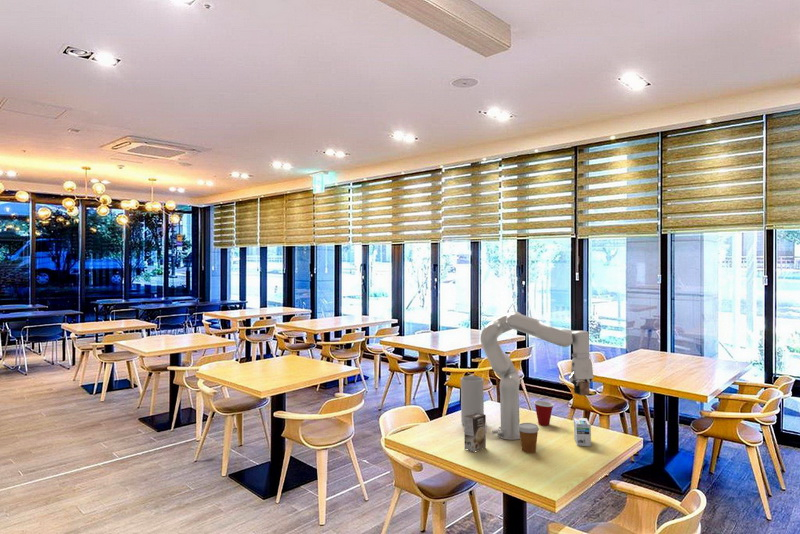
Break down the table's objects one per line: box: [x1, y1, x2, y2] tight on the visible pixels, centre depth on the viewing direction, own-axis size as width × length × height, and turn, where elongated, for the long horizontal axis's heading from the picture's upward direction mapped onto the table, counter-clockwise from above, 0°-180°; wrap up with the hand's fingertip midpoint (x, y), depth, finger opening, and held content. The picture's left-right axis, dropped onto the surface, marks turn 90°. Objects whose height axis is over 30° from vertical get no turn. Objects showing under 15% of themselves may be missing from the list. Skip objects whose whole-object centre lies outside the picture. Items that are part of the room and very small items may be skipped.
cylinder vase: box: [460, 375, 485, 425], centre depth 277 cm, size 12×12×25 cm
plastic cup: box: [533, 400, 555, 427], centre depth 273 cm, size 11×11×12 cm
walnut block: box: [573, 380, 590, 396], centre depth 244 cm, size 5×5×6 cm
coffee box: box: [463, 413, 487, 453], centre depth 238 cm, size 9×6×16 cm
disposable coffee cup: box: [518, 422, 540, 454], centre depth 234 cm, size 10×10×12 cm
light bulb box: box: [573, 417, 592, 447], centre depth 244 cm, size 11×7×11 cm, turn 168°
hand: (581, 392), depth 244 cm, fingers closed on walnut block, 5 cm apart
